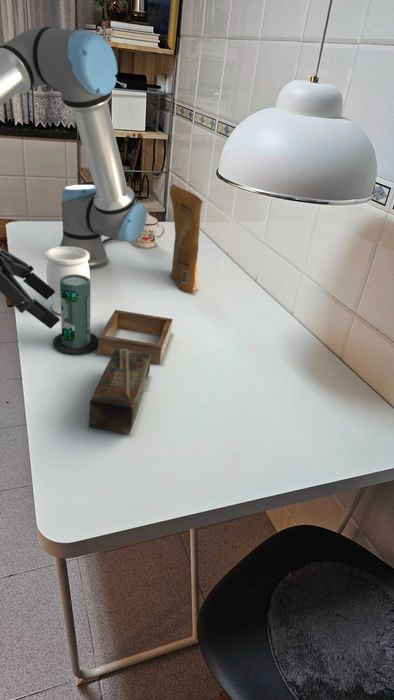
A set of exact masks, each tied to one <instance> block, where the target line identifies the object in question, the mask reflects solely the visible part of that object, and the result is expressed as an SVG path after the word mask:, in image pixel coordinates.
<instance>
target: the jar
mask: <svg viewBox="0 0 394 700" xmlns="http://www.w3.org/2000/svg"><path fill="white" fill-rule="evenodd" d="M45 258H46V260H47V264H46V284H47V285H49V286H50V287H51V288H52V289H53V290H55V293H54V294H53V295H52V296H51V297H50V298H51V301H52V302H53V304H52V307H51V308H52V311H53V312H54V313H56V314H58V315H61V296H60V278H62V277H63V276H65V275H73V274H79V275H83V276H85V277H87V278H89V279H90V280H91V271H90V268H89V264H88V260H89V258H90V254H89V252H88V251H86V250H84V249H81V248H77V247H60V246H56V247H52V248H49V249H48V250H46V251H45Z"/></svg>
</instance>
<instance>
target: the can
mask: <svg viewBox="0 0 394 700" xmlns="http://www.w3.org/2000/svg"><path fill="white" fill-rule="evenodd" d="M60 296H61V314H60V322H61V324H60V325H61V333H62V343H63V344H65V346H67V347H69V348H71V347H73V348H82V347H86V346H87V345H89V343H90V333H91V278H90V279H89V278H87V277H85V276H83V275H79V274H73V275H65V276H63V277H62V278H60Z"/></svg>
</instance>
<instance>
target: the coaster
mask: <svg viewBox="0 0 394 700" xmlns="http://www.w3.org/2000/svg"><path fill="white" fill-rule="evenodd" d="M53 347H54V348H55V350H56V351H59V352H60V353H63V354H65V355H71V356H80V355H81V356H83V355H86V354H87V355H88V354H90V353H92V352H94V351H95V350H97V349H98V336H97V335H95V334H93V333H92V332H90V343H89V345H87V346H86V347H82V348H73V347H71V348H69V347H67V346H65V344H63V343H62V332H61V333H59V334H58V335H56V336H55V337H54V339H53Z"/></svg>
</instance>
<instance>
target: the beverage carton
mask: <svg viewBox="0 0 394 700" xmlns="http://www.w3.org/2000/svg"><path fill="white" fill-rule="evenodd" d="M150 359H151V355H150V354H146V353H139V352H133V351H128V350H126V349H122V350H121V349H115V351H114V353H113V355H112V356H110V359H109V361H108V362H107V364H106V366H105V369H104V371H103V373H102V374H101V377H100V379H99V381H98V382H97V385H96V387H95V388H94V389H95V390H94V391H93V394H92V396H91V398H90V400H89V409H88V410H89V412H88V414H89V416H88V427H89V428H94V429H101V430H104V431H105V430H106V431H110V432H116V433H123V434H126V435H129V434H130V433H131V432H132V429H133V428H134V425H135V421H136V419H137V415H138V412H139V408H140V406H141V403H142V399H143V396H144V393H145V389H146V385H147V382H148V381H147V380H148V377H149V375H150V371H151V363H150Z"/></svg>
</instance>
